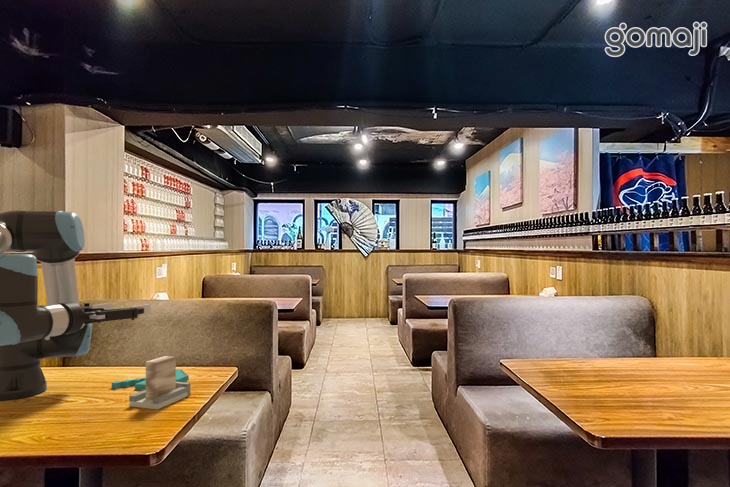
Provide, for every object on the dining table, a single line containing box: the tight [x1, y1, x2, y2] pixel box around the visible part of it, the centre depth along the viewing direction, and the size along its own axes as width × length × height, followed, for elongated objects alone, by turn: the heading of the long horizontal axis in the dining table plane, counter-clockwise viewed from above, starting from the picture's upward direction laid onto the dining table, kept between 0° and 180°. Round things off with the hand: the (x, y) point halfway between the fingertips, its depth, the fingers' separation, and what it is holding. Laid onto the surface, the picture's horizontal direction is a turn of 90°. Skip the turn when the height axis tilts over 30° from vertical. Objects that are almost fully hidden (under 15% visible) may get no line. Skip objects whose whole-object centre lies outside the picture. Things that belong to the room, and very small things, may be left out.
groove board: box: [128, 381, 191, 410], centre depth 140 cm, size 10×14×4 cm
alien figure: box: [111, 368, 190, 391], centre depth 162 cm, size 20×2×20 cm
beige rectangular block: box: [145, 355, 177, 400], centre depth 140 cm, size 4×8×11 cm, turn 162°
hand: (130, 308), depth 130 cm, fingers open, 13 cm apart
